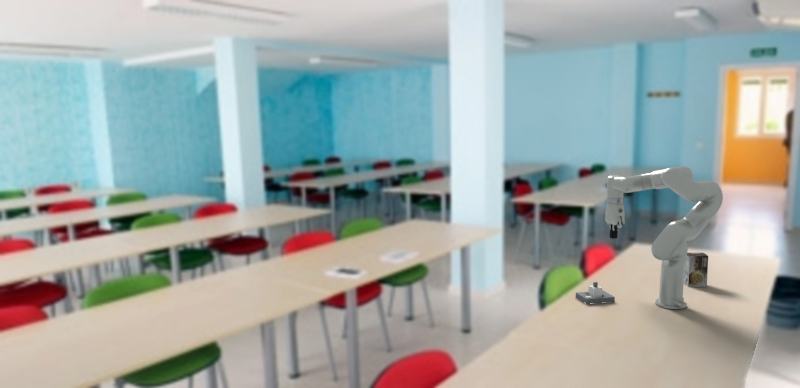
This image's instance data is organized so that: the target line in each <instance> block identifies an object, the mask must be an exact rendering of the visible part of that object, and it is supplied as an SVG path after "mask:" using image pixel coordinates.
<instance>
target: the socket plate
mask: <svg viewBox="0 0 800 388" xmlns="http://www.w3.org/2000/svg"><path fill="white" fill-rule="evenodd" d="M577 298H578V299H577ZM575 299H577V300H579V299H580V300H581V301H580V300H579V301H580V302H582V301H583V302H585V303H586V304H585V303H584V304H585V305H587V304H588V305H591V304H590V303H599V304H603V303H602V302H610V303H615V299H616V297H615V296H613V295H612V294H610V293H609V292H607V291H606V290H605V291H604V290H603V289H602V297H594V298H592V297H591V296H588V291H578V292H575ZM583 302H582V303H583Z"/></svg>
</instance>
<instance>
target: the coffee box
mask: <svg viewBox="0 0 800 388" xmlns="http://www.w3.org/2000/svg"><path fill="white" fill-rule="evenodd" d="M708 268H709V255H708V254H707V253H705V252H687V256H686V260H685V269H684V286H686V287H688V288H691V287H692V288H698V287H699V288H707V286H708V270H709V269H708Z"/></svg>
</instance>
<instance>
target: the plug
mask: <svg viewBox="0 0 800 388" xmlns="http://www.w3.org/2000/svg"><path fill="white" fill-rule="evenodd" d="M598 283H599V282H597V281H593V282H592V285H588V287H587V288H588V291H587V292H588V296H591V297H592V298H594V297H602V290H603V287H601V286H600V285H598Z"/></svg>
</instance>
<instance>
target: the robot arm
mask: <svg viewBox="0 0 800 388" xmlns="http://www.w3.org/2000/svg"><path fill="white" fill-rule="evenodd" d="M693 177H694V173H693V171H692V169H690V167H688V166H683V165H680V166H678V165H677V166H672V167H671V166H670V167H668V168H663V169H657V170H653V171H652V172H650V173H644V174H638V175H631V176H630V175H629V176H622V175H618V174H617V175H616V174H615V175H613V174H612V175H609V176H608V177H607V180H606V181H607V182H606V203H605V204H606V205H605V211H604V221H605V223H606V225H607V226H608V229H609V238H610V239H611V240H612V239H613V240H614V239H618V234H619V233H618V231H619V229H621V228H622V227H623V225H625V220H626V215H625V213H626V212H625V205H624V193H625V194H628V193H635V192H641V191H646V190H647V191H648V190H654V189H656V190H663V189H667V188H668V189H670V190H671V191H672V192H674V193H675V194H676V195H678V196H680V197H681V199H684V200H685V201H688V203H689V202H690V203H694V204H695V203H696V204H695V205H694V206H693V207H692V208H691V209H690V210H689V211H688V213H687V214H686V215H685V216H684V217H682V218H681V219H679V220H678V219H677V220H674V221H671V222H669V223H668V224H667V225H666V226H665V227H664V229H663V230H662V231H661V232H660V233H659V235H658V236H657V237H656V238H655V240H654V241H653V243H652V244H651V246H650V247H651V254H652V256H653V257H654V258H655V259H656V260H659V261H661V264H660V275H659V276H660V277H659V279H660V280H659V295H658V296H659V297H658V298H657V299H655V301H654V303H655V305H656V306H658V307H661V308H664V309H670V310H683V309H685V308H686V307H687V306H688V303H687V302H685V298H684V286H685V284H684V269H685V260H686V256H687V253H688V251H689V249H688V248H689V246H688V243H687V242H690V241H693V240H695V239H696V238H697V237H698V236H699V235H700V233H701V232H702V231H703V229H704V228H705V227H706V226H707V225H708V224H709V223H710V221H711V220H712V219H713V218H714V217H715V216H716V214H717V213H718V212H719V210H720V208H721V207H722V204H723V199H724V196H723V191H722V189H721V187H720V185H719V184H718V183H716V182H715V181H713V180H700V181H694V180H693Z"/></svg>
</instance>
